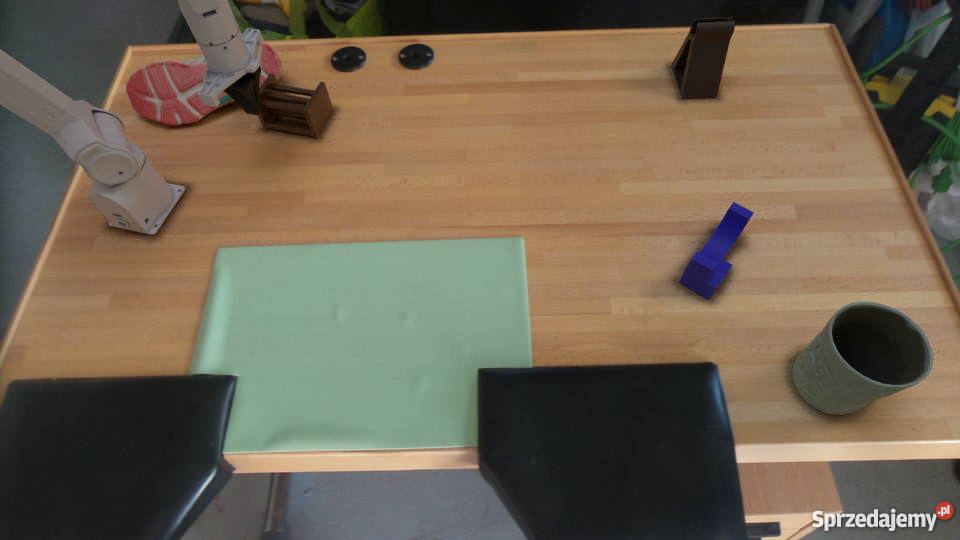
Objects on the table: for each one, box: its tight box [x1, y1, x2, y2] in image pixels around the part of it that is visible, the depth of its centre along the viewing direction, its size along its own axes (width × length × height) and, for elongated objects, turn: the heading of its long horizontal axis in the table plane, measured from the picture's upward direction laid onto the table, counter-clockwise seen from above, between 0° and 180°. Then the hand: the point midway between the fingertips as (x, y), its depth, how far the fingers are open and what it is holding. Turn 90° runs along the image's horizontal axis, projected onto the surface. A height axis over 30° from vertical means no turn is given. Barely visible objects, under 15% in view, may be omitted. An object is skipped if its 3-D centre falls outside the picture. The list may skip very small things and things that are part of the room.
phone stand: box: [670, 16, 736, 99], centre depth 95 cm, size 9×6×12 cm, turn 1°
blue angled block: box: [678, 201, 755, 301], centre depth 78 cm, size 12×4×6 cm, turn 141°
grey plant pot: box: [791, 301, 934, 416], centre depth 65 cm, size 10×10×12 cm
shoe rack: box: [257, 73, 334, 139], centre depth 95 cm, size 7×10×6 cm
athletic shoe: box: [125, 41, 283, 126], centre depth 99 cm, size 27×9×12 cm
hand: (253, 111), depth 87 cm, fingers closed
